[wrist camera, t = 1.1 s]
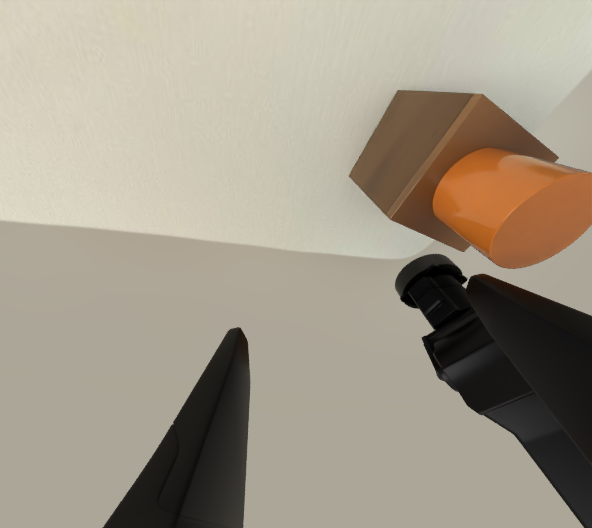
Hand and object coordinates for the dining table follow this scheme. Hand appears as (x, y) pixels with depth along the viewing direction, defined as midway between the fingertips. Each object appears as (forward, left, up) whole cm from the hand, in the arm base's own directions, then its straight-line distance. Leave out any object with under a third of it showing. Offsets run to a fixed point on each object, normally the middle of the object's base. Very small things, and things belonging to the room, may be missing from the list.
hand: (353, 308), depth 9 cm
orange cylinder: (-5, -6, -5) cm, 9 cm away
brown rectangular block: (-5, -6, -12) cm, 15 cm away
